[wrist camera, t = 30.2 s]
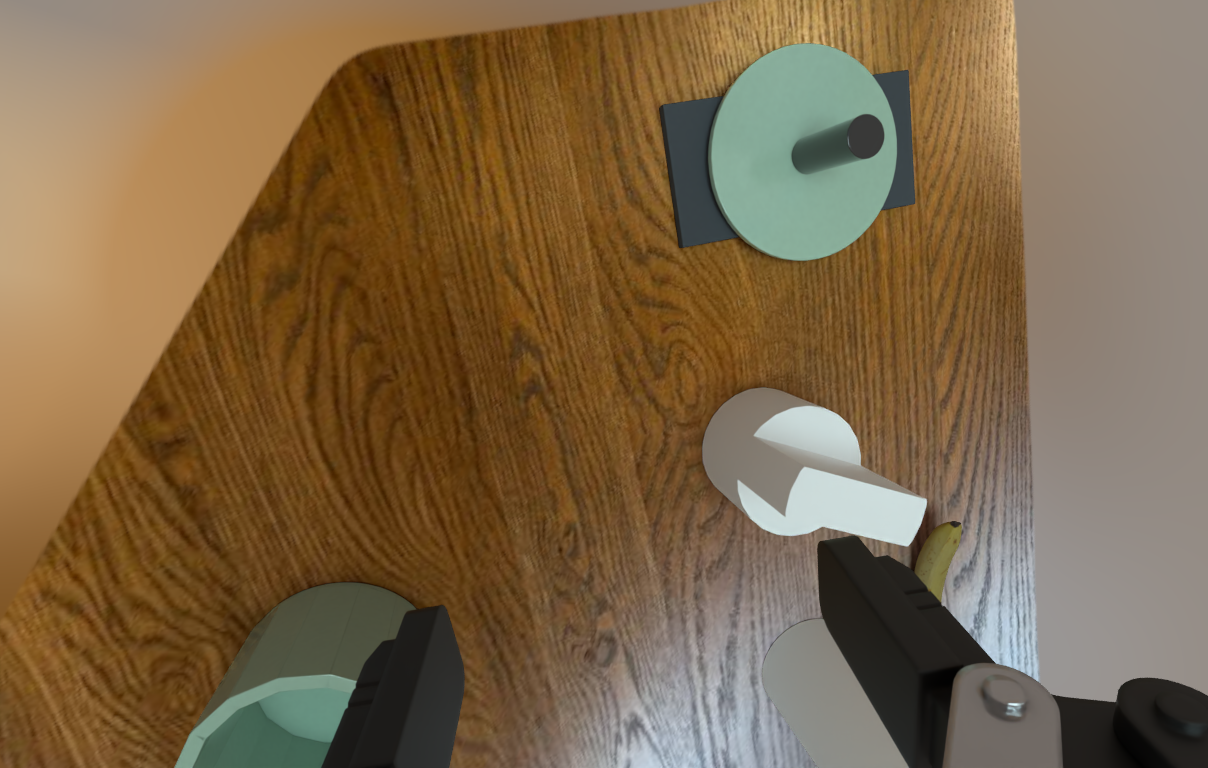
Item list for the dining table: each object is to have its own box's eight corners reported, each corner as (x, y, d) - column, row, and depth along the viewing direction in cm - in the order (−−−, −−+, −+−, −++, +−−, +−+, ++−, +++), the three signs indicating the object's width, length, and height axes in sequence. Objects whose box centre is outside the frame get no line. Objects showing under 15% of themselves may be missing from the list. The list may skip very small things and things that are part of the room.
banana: (909, 507, 49) (947, 527, 45) (934, 502, 49) (973, 522, 45) (905, 615, 51) (940, 643, 47) (929, 610, 51) (966, 637, 47)
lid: (669, 201, 39) (712, 187, 32) (764, 6, 37) (830, -53, 31) (827, 293, 42) (897, 299, 35) (918, 118, 41) (1007, 89, 34)
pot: (211, 721, 39) (133, 857, 30) (285, 557, 38) (228, 647, 29) (394, 762, 43) (373, 896, 34) (466, 613, 42) (465, 710, 33)
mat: (679, 248, 40) (683, 247, 39) (659, 107, 38) (662, 104, 37) (907, 204, 43) (915, 203, 43) (900, 73, 41) (908, 69, 40)
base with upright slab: (685, 487, 44) (762, 566, 32) (725, 373, 43) (819, 412, 31) (787, 512, 46) (893, 594, 35) (827, 404, 45) (949, 452, 34)
